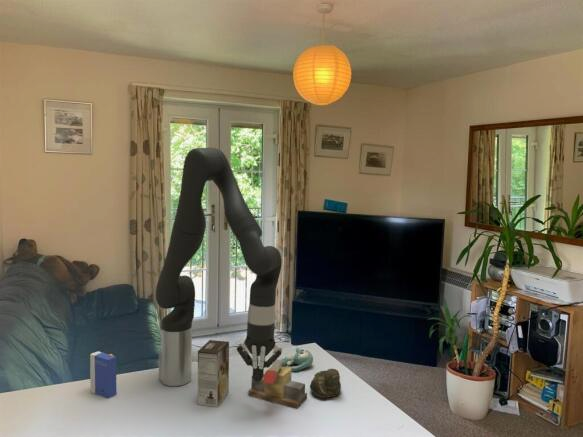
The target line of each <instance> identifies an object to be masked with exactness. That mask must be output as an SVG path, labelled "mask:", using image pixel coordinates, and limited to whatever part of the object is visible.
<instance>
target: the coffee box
mask: <svg viewBox="0 0 583 437" xmlns="http://www.w3.org/2000/svg"><path fill="white" fill-rule="evenodd" d="M229 373H230V341H223V340H215V339H209V340H208V341H207V342H206V343H205V344H204V345H203V346H201V347H200V349H198V350H197V405H199V406H205V407H211V408H212V407H213V408H219V406H220V404H222V402H223V400H225V398H226V396H228V394H229V391H230V390H229V386H230V385H229V383H230V382H229V381H230V379H229V378H230V374H229Z"/></svg>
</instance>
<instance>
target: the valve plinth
mask: <svg viewBox="0 0 583 437" xmlns="http://www.w3.org/2000/svg"><path fill="white" fill-rule="evenodd" d="M270 368H271V366H270V367H269V368H267V369H266V370H264V373H263V376H264V374H265V373H266V371H267V370H270ZM292 372H293V371H292V369H291V368H287V367H286V366H282V365H281V370H280V371H278V373H277V378H276V380H275V382H274V383H273V384H272V383H264V382H263V378H262V380H260V382H258V381H255V379H253V377H252V376H251V388H250V389H249V390H248V392H247V393H248V396H249V397H252V398H257V399H260V400H264V401H267V402H271V403H275V404H278V405H282V406H285V407H287V408H288V407H289V408H293V409H294V410H295V409H296V410H298V409H299V408H300V407H301V405H302V404H304V402H305V401H306V400H307V397H308V393H307V392H306V384H305V383H303V382H299V381H295V380H292Z"/></svg>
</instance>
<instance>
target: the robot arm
mask: <svg viewBox="0 0 583 437" xmlns="http://www.w3.org/2000/svg"><path fill="white" fill-rule="evenodd" d="M210 181H212V182H213V183H214V184H215V185H216V187H217V188H218V190H219V192H220V194H221V197H222V200H223V201H222V202H223V207H224V216H225V219H226V222H227V225H228V226H229V227H230V230H231V231H232V233H233V234H234V236H235V238H236V240H237V241H238V243H239V246H240V250H241V253H242V256H243V260H244V262H245V264H246V267H247V268H248V269H249V270H250V271H251V272H252V273H253V274H255V275H256V276H255V277H256V278H255V279H254V281H253V282H252V283H251V285H250V288H249V304H248V305H249V306H248V309H247V323H246V338H245V339H244V341H243V342H242V343H239V344H238V346H237V347H236V352H238V354H239V356H241V358H242V361H243V362H244V363H245V364H246V366H250V367H252V376H251V378H252V377H253V379H255V381H258V382H260V380H262V378H263V374H265V368H267V369H269V368H270V367H271V366H272V365H273V363H274V362H275V360H278V358H280V356H282V352H283V348H282V347H278V346H277V345H276V343H277V342H276V340H275V330H276V329H275V327H276V326H275V325H276V317H277V316H276V312H277V311H276V297H277V296H276V295H277V285H278V283H279V278H280V274H281V271H282V266H283V265H282V262H283V260H282V254H281V252H280V250H279V249H278V248H277V247H276V246H273V245H266V246H264V244H263V242H262V239H261V237H262V235H263V231H262V228H261V226H260V225H259V223H258V221H257V220H256V218H255V216H254V215H253V213H252V211H251V210H250V207H249V206H248V205H247V202H246V201H245V198H244V196H243V194H242V192H241V189H240V187H239V185H238V182H237V179H236V177H235V175H234V173H233V170H232V167H231V164H230V161H229V160H228V158H227V156H226V155H225V153H224V152H223V151H222V150H221V149H220V148H217V147H196V148H192V149H191V150H189V151H188V153H187V154H186V156H185V159H184V161H183V168H182V176H181V184H180V191H179V192H180V194H179V198H178V203H177V208H176V212H175V218H174V220H173V223H172V229H171V233H170V239H169V244H168V248H167V251H166V256H165V259H164V262H163V266H162V268H161V271H160V274H159V276H158V280H157V283H156V287H155V301H156V304H157V305H158V306H159V307H160V308H162V309H164V310H167V309H168V310H169V309H172V310H171V311H170V312H168V314H166V315H165V316H163V318H162V319H161V339H160V340H161V346H160V347H161V349H160V350H159V351H158V380H159V382H161V383H162V384H163V385H165V386H168V387H179V386H185V385H186V384H188V383H190V382H191V381H192V364H193V363H192V359H193V358H192V356H193V355H192V351H193V350H192V348H193V347H192V346H193V345H192V343H193V342H192V340H193V338H192V337H193V333H192V332H193V330H192V329H193V321H194V316H195V303H196V288H195V284H194V280H193V279H192V278H191V277H190V276H189V275H185V274H184V275H181V273H182V272H183V270H184V269H185V267H186V265H187V264H188V263H189V262H190V261H191V260H192V259H193V257H194V256H195V255H196V253H197V252H198V251H199V250H200V247H201V246H202V243H203V241H204V240H203V239H204V236H205V232H206V227H207V220H206V215H205V212H204V209H203V205H202V201H203V200H202V198H203V194H204V188H205V186H206V183H207V182H210ZM247 350H248V351H247ZM271 352H272V355H271V356H270V357H269V358H268V359H267V360H266V358H267V356H268V355H269V354H270V353H271ZM249 353H250V354H251V355H250V354H249Z"/></svg>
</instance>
